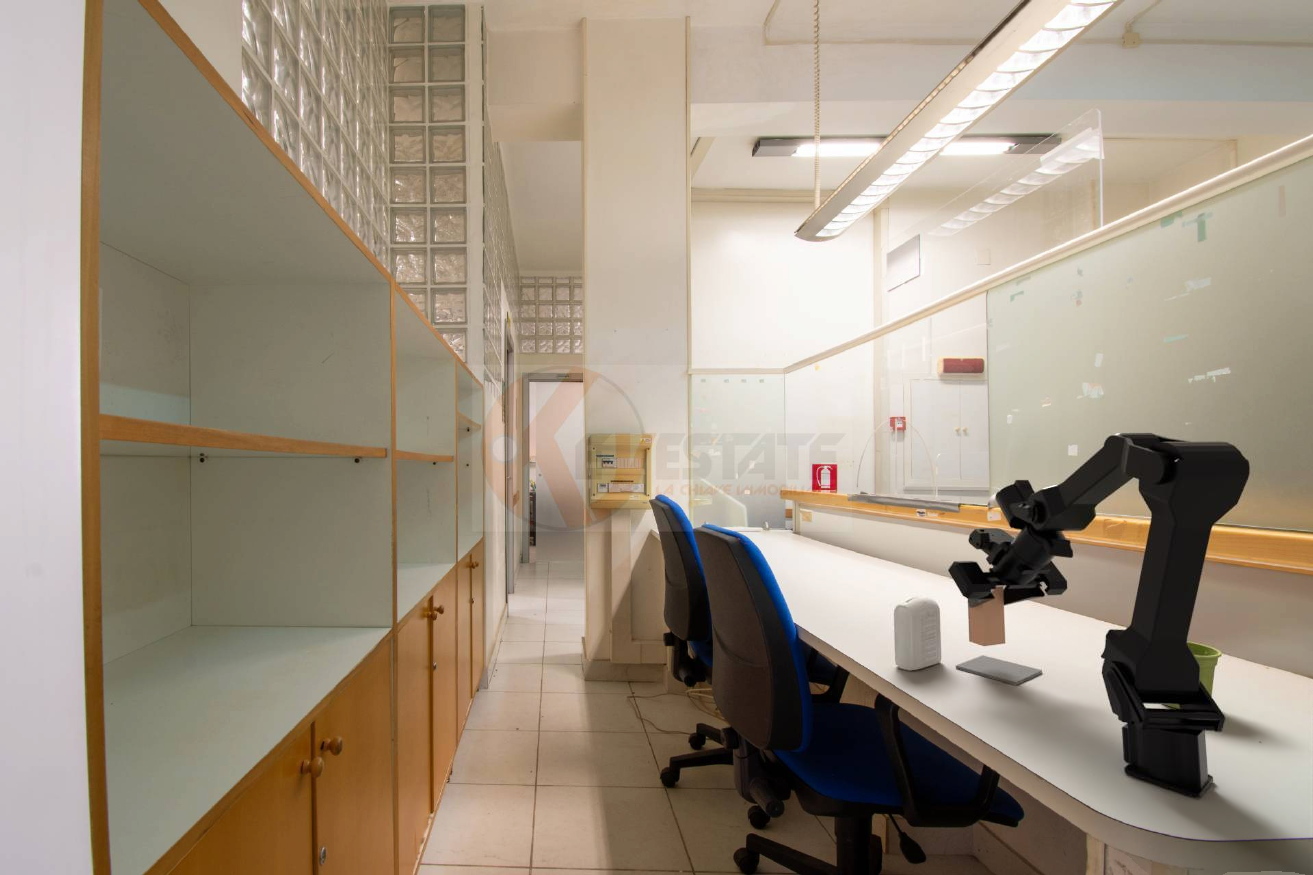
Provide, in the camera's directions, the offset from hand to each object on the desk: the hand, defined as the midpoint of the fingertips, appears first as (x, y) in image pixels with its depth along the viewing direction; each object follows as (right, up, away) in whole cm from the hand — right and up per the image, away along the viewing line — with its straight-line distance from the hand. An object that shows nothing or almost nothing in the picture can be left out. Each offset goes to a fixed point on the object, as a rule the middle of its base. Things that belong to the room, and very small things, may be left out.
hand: (984, 604), depth 101 cm
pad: (+2, -11, -1) cm, 12 cm away
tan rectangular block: (0, -7, -1) cm, 7 cm away
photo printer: (-11, -12, +2) cm, 16 cm away
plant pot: (+21, -11, -16) cm, 28 cm away
